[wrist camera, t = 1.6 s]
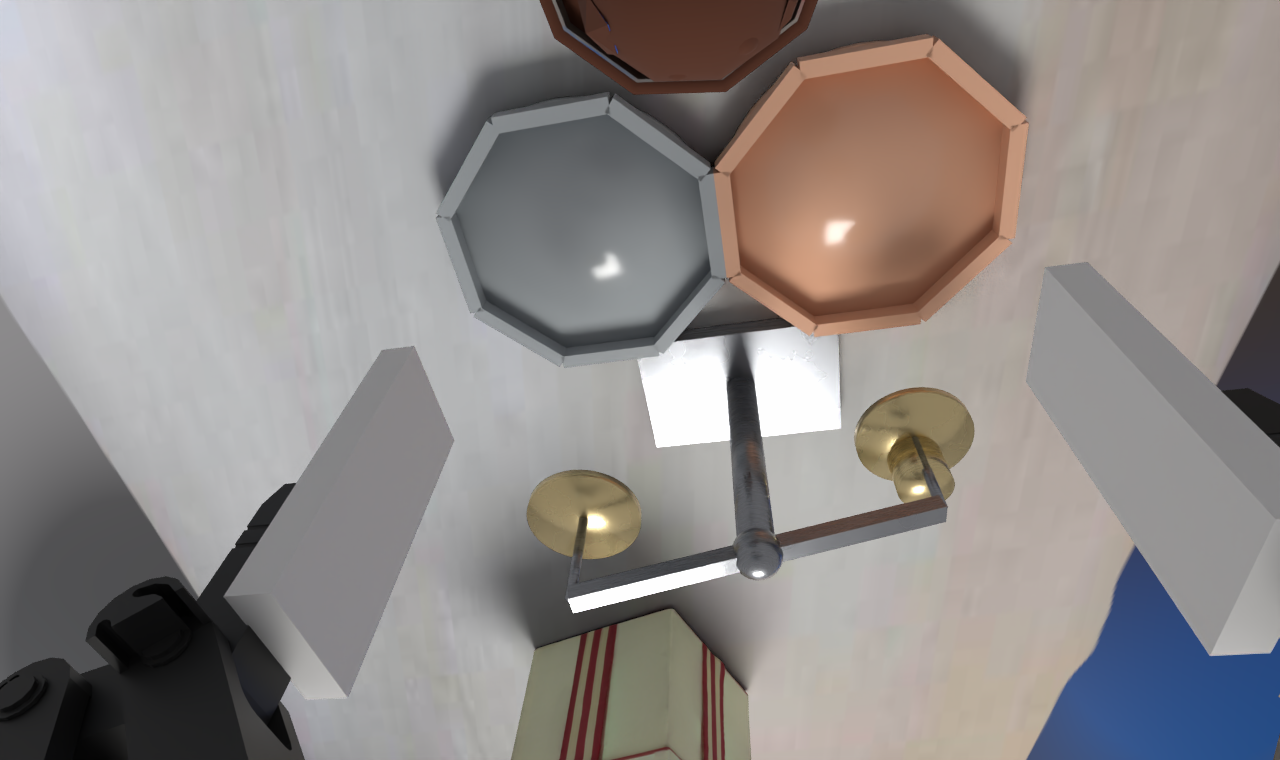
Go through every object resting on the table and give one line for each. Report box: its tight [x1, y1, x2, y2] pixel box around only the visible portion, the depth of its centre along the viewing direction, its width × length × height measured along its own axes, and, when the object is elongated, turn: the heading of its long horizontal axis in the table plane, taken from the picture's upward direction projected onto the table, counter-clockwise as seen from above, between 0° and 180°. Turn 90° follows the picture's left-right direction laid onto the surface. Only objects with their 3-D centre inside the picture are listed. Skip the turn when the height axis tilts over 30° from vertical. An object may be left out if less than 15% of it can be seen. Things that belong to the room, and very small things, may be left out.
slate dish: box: [436, 92, 727, 368], centre depth 39 cm, size 15×15×2 cm
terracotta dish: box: [713, 34, 1029, 337], centre depth 37 cm, size 15×15×2 cm
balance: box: [527, 318, 974, 613], centre depth 38 cm, size 8×24×17 cm, turn 101°
